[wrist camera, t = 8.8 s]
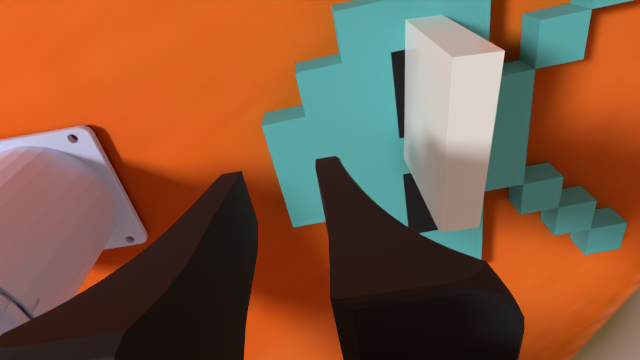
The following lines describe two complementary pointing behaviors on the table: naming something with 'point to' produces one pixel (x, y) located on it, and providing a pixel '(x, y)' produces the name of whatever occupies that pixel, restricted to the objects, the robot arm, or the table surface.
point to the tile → (450, 116)
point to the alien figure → (389, 115)
